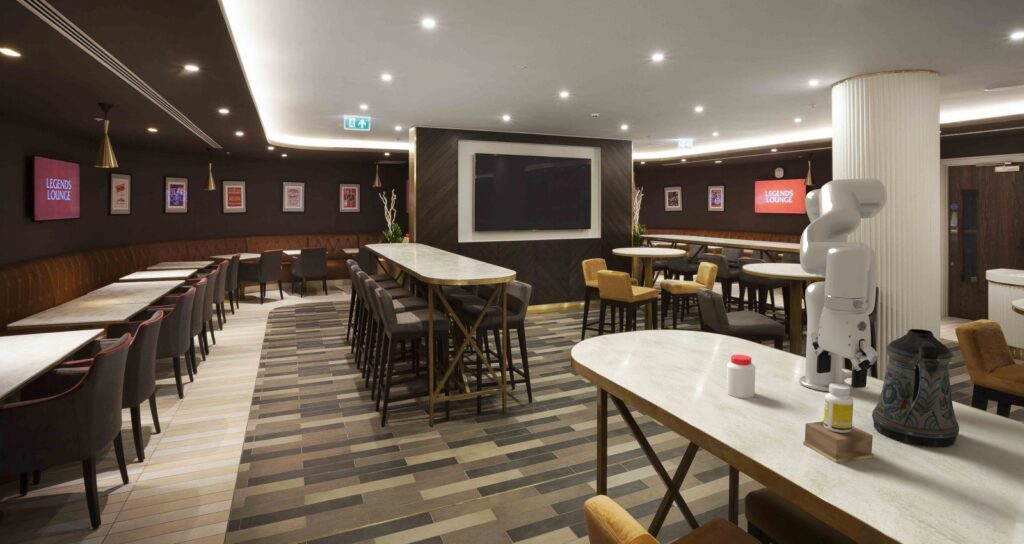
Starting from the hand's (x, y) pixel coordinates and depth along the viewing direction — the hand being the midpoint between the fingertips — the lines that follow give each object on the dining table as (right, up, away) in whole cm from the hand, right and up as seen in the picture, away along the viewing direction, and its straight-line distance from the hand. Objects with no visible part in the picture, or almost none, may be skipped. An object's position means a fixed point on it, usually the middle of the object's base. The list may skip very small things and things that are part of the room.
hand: (840, 379), depth 118 cm
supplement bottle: (0, -11, +1) cm, 11 cm away
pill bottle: (-6, -12, +39) cm, 41 cm away
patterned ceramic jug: (+23, -15, +8) cm, 29 cm away
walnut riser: (0, -16, +1) cm, 16 cm away
